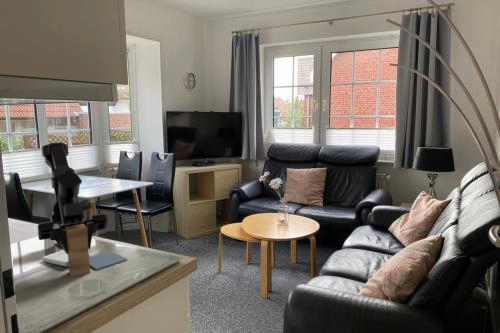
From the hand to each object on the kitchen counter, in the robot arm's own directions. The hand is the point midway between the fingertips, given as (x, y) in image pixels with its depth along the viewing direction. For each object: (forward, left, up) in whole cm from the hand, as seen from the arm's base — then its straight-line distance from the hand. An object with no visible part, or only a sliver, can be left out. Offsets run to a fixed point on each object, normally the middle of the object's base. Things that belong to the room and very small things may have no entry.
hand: (78, 251), depth 106 cm
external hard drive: (-14, +1, -7) cm, 16 cm away
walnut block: (-1, 0, -7) cm, 7 cm away
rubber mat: (-4, +9, -7) cm, 13 cm away
